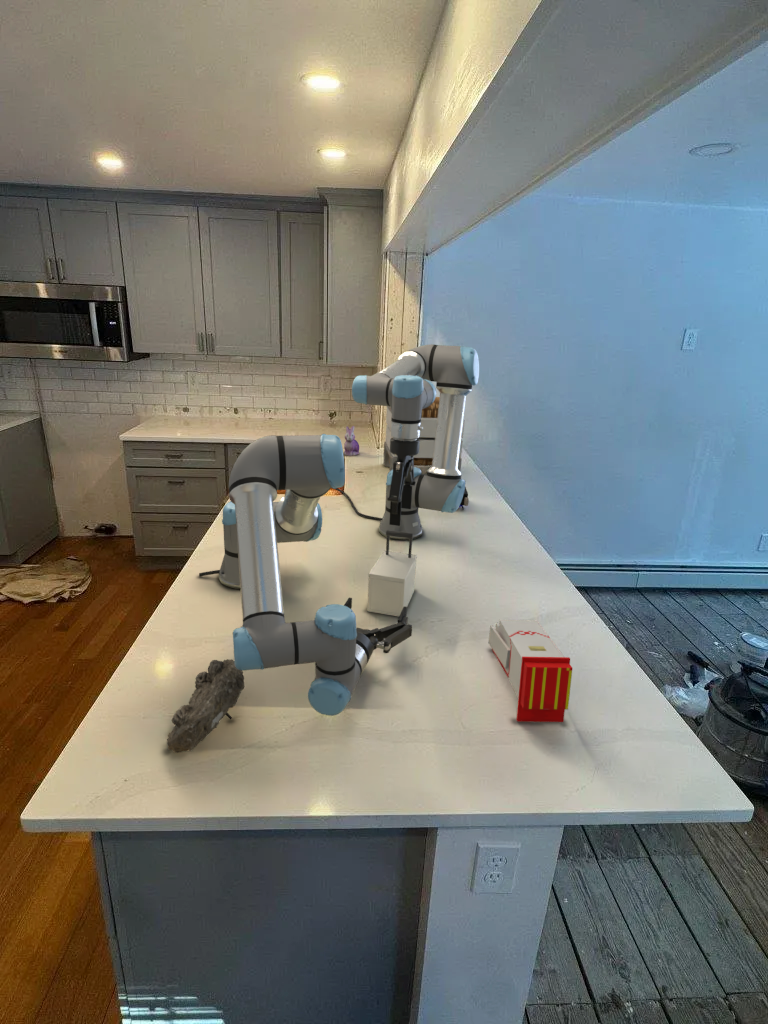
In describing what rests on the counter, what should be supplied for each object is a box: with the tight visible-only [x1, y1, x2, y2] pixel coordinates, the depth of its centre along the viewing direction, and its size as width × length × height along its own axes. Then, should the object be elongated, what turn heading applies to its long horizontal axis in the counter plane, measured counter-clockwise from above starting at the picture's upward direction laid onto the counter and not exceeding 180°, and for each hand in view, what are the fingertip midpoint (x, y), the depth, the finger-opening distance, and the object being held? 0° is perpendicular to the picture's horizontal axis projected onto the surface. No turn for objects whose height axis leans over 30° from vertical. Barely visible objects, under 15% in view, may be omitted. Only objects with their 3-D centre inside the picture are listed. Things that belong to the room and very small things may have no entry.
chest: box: [366, 560, 417, 617], centre depth 153 cm, size 15×10×10 cm, turn 166°
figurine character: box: [459, 486, 470, 511], centre depth 230 cm, size 7×8×15 cm
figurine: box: [343, 425, 360, 456], centre depth 302 cm, size 9×10×15 cm
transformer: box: [383, 396, 465, 472], centre depth 268 cm, size 34×33×41 cm
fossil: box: [166, 658, 245, 754], centre depth 106 cm, size 22×10×15 cm
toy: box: [488, 619, 573, 723], centre depth 122 cm, size 12×13×30 cm
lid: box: [368, 530, 418, 583], centre depth 150 cm, size 16×10×8 cm, turn 166°
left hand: (377, 607), depth 136 cm, fingers open, 13 cm apart
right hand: (400, 516), depth 152 cm, fingers open, 13 cm apart
